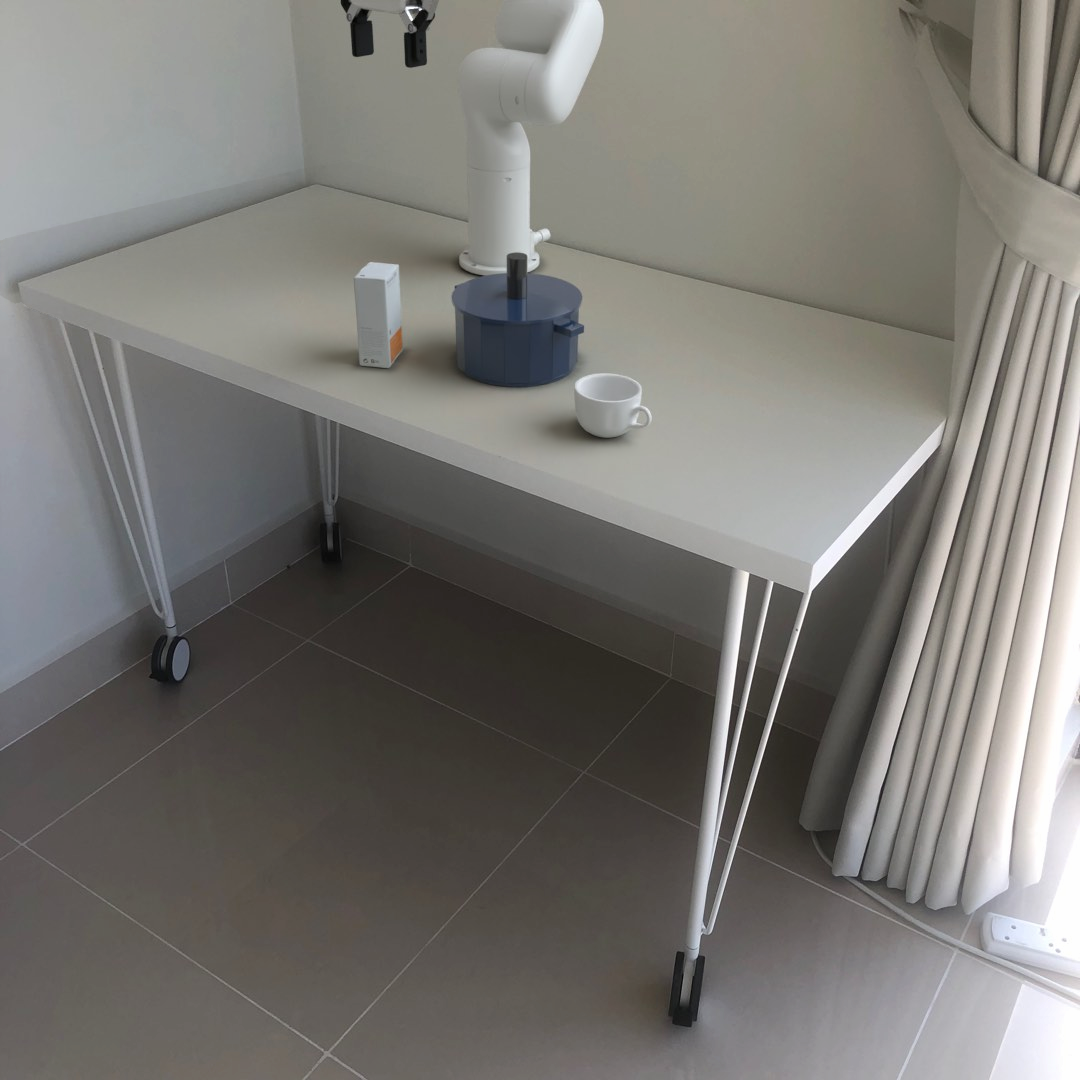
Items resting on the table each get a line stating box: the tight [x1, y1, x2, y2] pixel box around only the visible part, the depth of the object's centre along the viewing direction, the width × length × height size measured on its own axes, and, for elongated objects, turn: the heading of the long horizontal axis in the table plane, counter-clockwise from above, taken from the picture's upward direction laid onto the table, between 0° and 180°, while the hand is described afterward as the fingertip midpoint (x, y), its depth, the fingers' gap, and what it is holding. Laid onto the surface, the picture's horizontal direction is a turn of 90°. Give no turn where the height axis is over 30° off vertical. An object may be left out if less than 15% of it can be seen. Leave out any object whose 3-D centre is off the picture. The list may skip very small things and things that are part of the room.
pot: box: [454, 283, 585, 388], centre depth 150 cm, size 16×21×8 cm
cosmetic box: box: [353, 261, 404, 369], centre depth 150 cm, size 6×4×12 cm
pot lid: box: [451, 252, 583, 325], centre depth 147 cm, size 17×17×6 cm
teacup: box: [573, 372, 653, 439], centre depth 135 cm, size 10×8×5 cm
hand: (389, 60), depth 147 cm, fingers open, 9 cm apart
